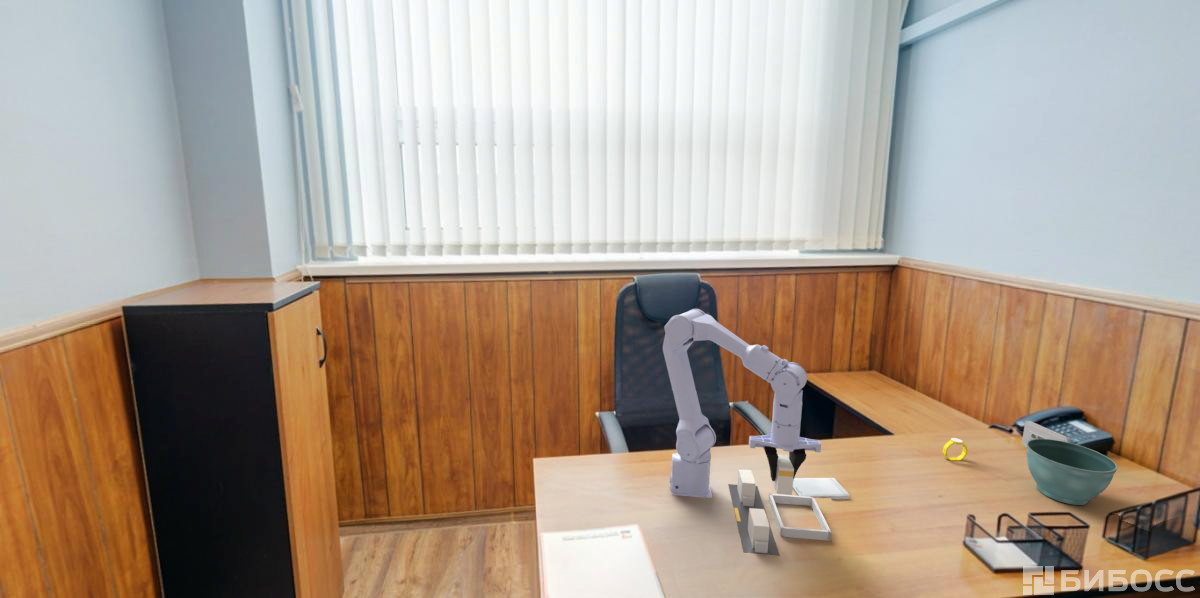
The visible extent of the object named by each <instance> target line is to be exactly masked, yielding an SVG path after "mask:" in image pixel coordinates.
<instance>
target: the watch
mask: <svg viewBox="0 0 1200 598" xmlns="http://www.w3.org/2000/svg"><path fill="white" fill-rule="evenodd" d="M954 444H955V445H961V446H962V451H961V454H960V455H958V456H957V457H948V453H947V452H948V450H949V448H950V447H951V446H952V445H954ZM967 454H968V446H967V445H966V444H965V443H964V442H963V440H962V439H960V438H956V437H952V438H950V440H948V441H947V442H946V443H945V444H944V445H943V448H942V455H943V456H944V458H945V459H947V460H948V461H949V462H951V461H952V462H953V461H955V462H961V461H963V459H965V458H966V456H967Z"/></svg>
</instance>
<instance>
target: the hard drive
mask: <svg viewBox="0 0 1200 598" xmlns="http://www.w3.org/2000/svg"><path fill="white" fill-rule="evenodd" d="M792 491H793V492H794V493H795V494H796V496H809V497H814V498H830V499H831V500H850V498H851V495H850V494H849V493H848V491H847V490H846V489H845V488H844V487H843V486H842V485H841V484H840V483H839V482H838V481H837V479H836V478H835V477H800V478H799V477H794V480H793V488H792Z"/></svg>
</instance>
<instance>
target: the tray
mask: <svg viewBox="0 0 1200 598" xmlns="http://www.w3.org/2000/svg"><path fill="white" fill-rule="evenodd" d="M768 504H769V507H770V510H771V512H772V516H773V518H774V521H775V525H776V527H777V530H778V532H779V536H780V537H781V538H784V537H785V538H791V539H792V538H794V539H804V540H805V539H806V540H818V541H827V542H828V541H829V542H830V541H832V538H831V537H832V531H831V529H830V527H829V525H828V522H827V520H826V519H825V517H824V515H823V513H822V511H821V509H820V506H819V504H818V503H817V500H816V497H809V496H797V494H796V495H794V494H792V495H785V494H777V493H768ZM776 504H783V505H784V504H785V505H797V506H809V507H811V509H812V510H813V513H814V515H815V517H816V519H817V522H818V523H819V525H820V528H821V529H818V528H804V527H803V528H802V527H793V526H792V527H791V526H784V523H783V521H782V518H781V516H780V513H779V510H778V507H777V505H776Z"/></svg>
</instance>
